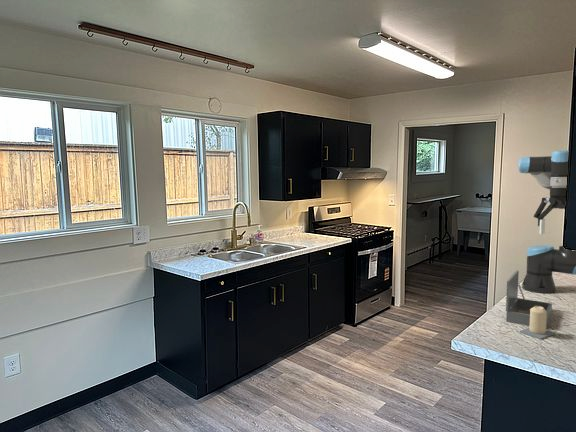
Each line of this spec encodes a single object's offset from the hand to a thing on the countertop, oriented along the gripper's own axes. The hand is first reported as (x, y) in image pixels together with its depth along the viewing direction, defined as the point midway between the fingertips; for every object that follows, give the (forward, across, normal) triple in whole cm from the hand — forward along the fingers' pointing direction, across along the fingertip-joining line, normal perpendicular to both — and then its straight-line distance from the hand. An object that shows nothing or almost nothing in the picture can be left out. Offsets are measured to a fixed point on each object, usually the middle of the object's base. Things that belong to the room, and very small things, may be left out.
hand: (557, 235), depth 174 cm
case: (+35, -2, -14) cm, 38 cm away
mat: (+35, +9, -28) cm, 45 cm away
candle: (+34, +9, -28) cm, 45 cm away
